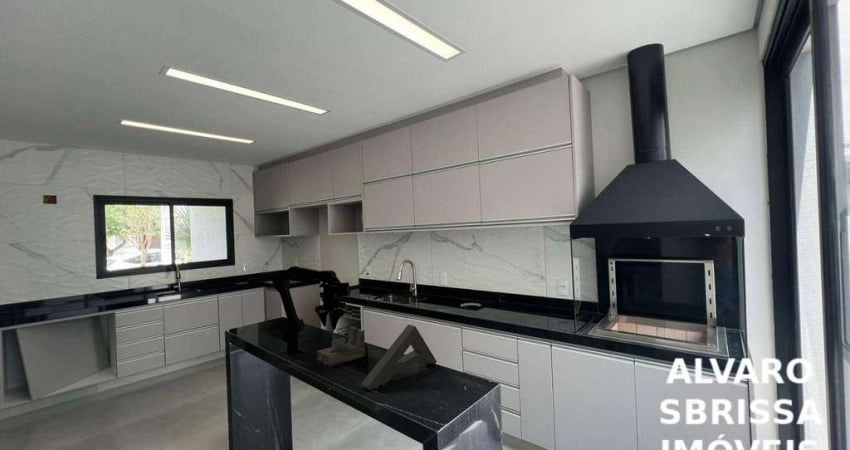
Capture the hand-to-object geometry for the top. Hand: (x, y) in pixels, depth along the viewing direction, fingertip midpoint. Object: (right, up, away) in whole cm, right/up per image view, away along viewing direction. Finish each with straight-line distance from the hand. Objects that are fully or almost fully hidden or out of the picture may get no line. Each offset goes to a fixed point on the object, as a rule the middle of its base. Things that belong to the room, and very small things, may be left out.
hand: (329, 328), depth 169 cm
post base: (+8, -12, -8) cm, 16 cm away
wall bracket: (+38, -11, -29) cm, 49 cm away
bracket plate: (+7, -11, -9) cm, 16 cm away
